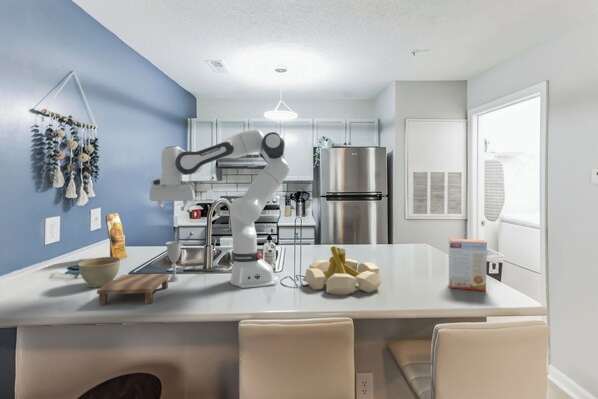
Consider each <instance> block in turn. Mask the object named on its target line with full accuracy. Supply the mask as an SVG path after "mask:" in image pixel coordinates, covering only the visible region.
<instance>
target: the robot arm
mask: <svg viewBox="0 0 598 399" xmlns="http://www.w3.org/2000/svg"><path fill="white" fill-rule="evenodd" d="M285 147H286V146H285V140H284V138H283V136H282V135H281V134H280V133H278V132H275V131H273V132H271V131H270V132H269V133H267V134H264V133H263V132H262V131H261V130H260V129H258V128H252V129H247V130H244V131H241V132H239V133H235V134H234V135H231V136H230V137H228V138H226V139H225V140H223V141H221V142H219V143H217V144H216V145H212V146H209V147H206V148H204V149H201V150H197V151H190V150H189V151H187V150H184V149H183V148H181V147H180V146H177V145H174V146H173V145H172V146H167V147H165V148H163V149H162V151H161V157H160V158H161V159H160V160H161V164H160V165H161V169H162V171H161V172H162V173H161V177H160V178H156V179H154V180H153V179H152V180H151V181H150V184H151V186H150V188H149V198H148V199H149V200H150V202H157V204H158V206H159V208H160V212H164V211H166V206H164V205H163V202H183V205H182V206H181V207H180V210H181V211H183V212H184V211H186V206H187V205H188V202H193V201H195V199H196V193H195V188H196V187H195V186H196V185H195V183H194V182H193V181H190V180H186V181H185V180H183V175H195V174H197V173H199V172H200V171H201V170H202V168H203V166H204V165H206V164H209V163H212V162H214V161H217V160H220V159H238V158H242V157H245V156H249V155H250V154H253V153H258V154H259V156H260V157H261V158H262V159H263V161H265V163H267V164H266V165H265V167H264V168H263V169H262V170H261V171H260V173H258V174H257V176H256V177H255V178H254V179H253V181H252V182H251V183H250V185H249V187H248V189H247V190H246V192H245V193H244V195H243V196H242V197H237V198H235V199H234V200H232V201H231V202H230V205H229V218H230V228H231V233H232V252H231V264H232V268H231V269H232V270H231V276H230V280H229V283H230V284H231V285H233V286H237V287H239V288H241V289H246V288H256V287H257V288H258V287H259V288H260V287H268V286H276V285H277V284H278V283H279V276H278V275H277V274H275V272H274V269H273V266H272V265H271V264H269V263H268V262H267V261H265V260H264V259H262V257H263V254H262V251H259V250H258V239H257V238H258V237H257V235H258V234H257V231H256V227H255V222H256V221H258V220H259V219H260V216H261V213H262V211H263V210H264V208H265V207H266V205H267V203H268V201H269V200H270V199H271V197H272V196H273V195H274V193H275V192H276V191H277V190H278V189H279V188H280V186H281V185H282V183H283V182H284V181H285V180H286V178H287V177H288V174H289V173H290V165H289V163H288V162H287V161H286V160H285V159H284V158H285V151H286V148H285Z"/></svg>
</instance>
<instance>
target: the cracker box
mask: <svg viewBox="0 0 598 399" xmlns="http://www.w3.org/2000/svg"><path fill="white" fill-rule="evenodd" d="M487 246H488V241H486V240H482V239H465V238H464V239H463V238H462V239H461V238H448V286H449V288H450V289H458V290H459V289H460V290H470V291H473V290H474V291H480V292H481V291H482V292H483V291H484V292H486V291H487V254H488V253H487V252H488V251H487V249H488V247H487Z"/></svg>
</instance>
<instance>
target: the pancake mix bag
mask: <svg viewBox="0 0 598 399" xmlns="http://www.w3.org/2000/svg"><path fill="white" fill-rule="evenodd" d="M105 224H106V229H107V236H108V238H109V239H108V240H109V257H117V258H120V261H121V260H123V259H125V258H127V257H128V256H127V250H126V246H125V238H124V237H125V236H124V230H123V225H122V221H121V218H120V214H119V212H114V213H109V214H107V215H106V216H105Z"/></svg>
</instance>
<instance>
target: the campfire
mask: <svg viewBox="0 0 598 399" xmlns="http://www.w3.org/2000/svg"><path fill="white" fill-rule="evenodd" d="M330 252H331V257H330V258H329V260H325V259H318V260H314V261H313V262H311V263H310V264H309V266H308V268H306V271H305V275H304V280H306V283H307V285H308V286H309V287H310V288H311V289H312V290H323V289H324V287H325V286H326V289H325V290H326V291H325V292H326V293H327V294H331V295H350V294H351V293H354V292H355V289H356V284H358V287H359V289H360V291H362V292H366V293H372V292H375V291H377V290H378V289H379V287H380V286H381V284H382V277H381V274H380V267H378V266H377V265H376V264H374V263H373V262H362V263H359V264H358V261H357V260H355V259H351V258H346V249H344V248H341V247H340V248H339V247H337V246H335V245H334V246H331V248H330Z"/></svg>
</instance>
